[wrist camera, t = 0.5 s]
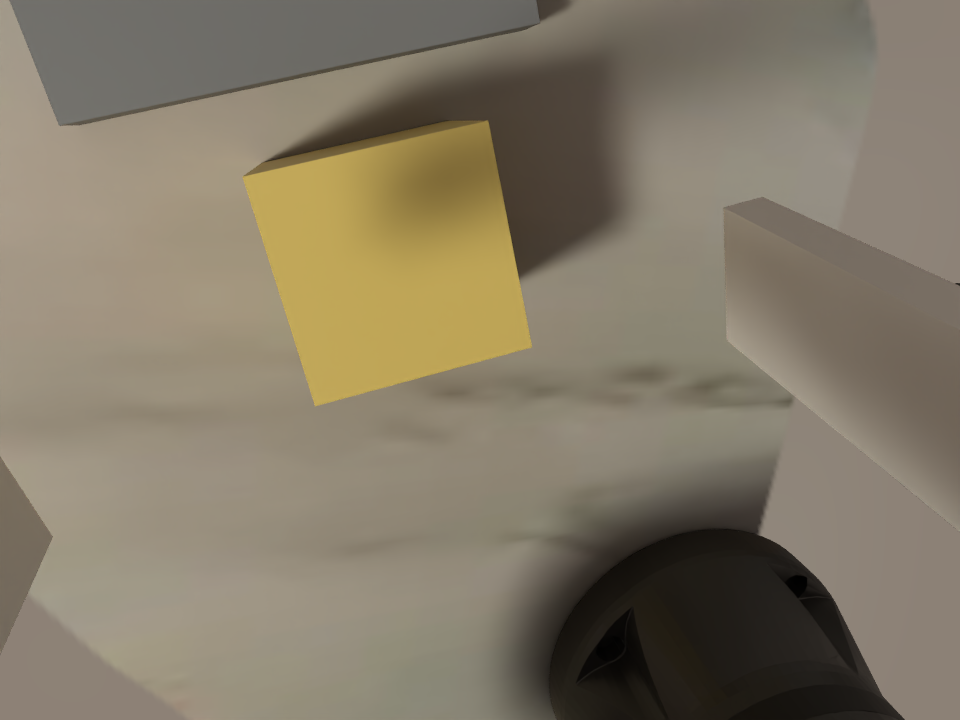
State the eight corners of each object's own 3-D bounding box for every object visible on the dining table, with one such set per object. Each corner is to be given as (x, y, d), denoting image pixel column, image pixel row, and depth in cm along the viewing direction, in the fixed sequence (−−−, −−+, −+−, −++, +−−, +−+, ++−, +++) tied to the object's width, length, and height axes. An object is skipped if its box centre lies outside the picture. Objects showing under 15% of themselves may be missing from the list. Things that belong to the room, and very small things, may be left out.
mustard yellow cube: (485, 297, 29) (531, 347, 23) (316, 341, 29) (315, 406, 22) (447, 120, 27) (488, 120, 21) (262, 162, 26) (242, 176, 20)
